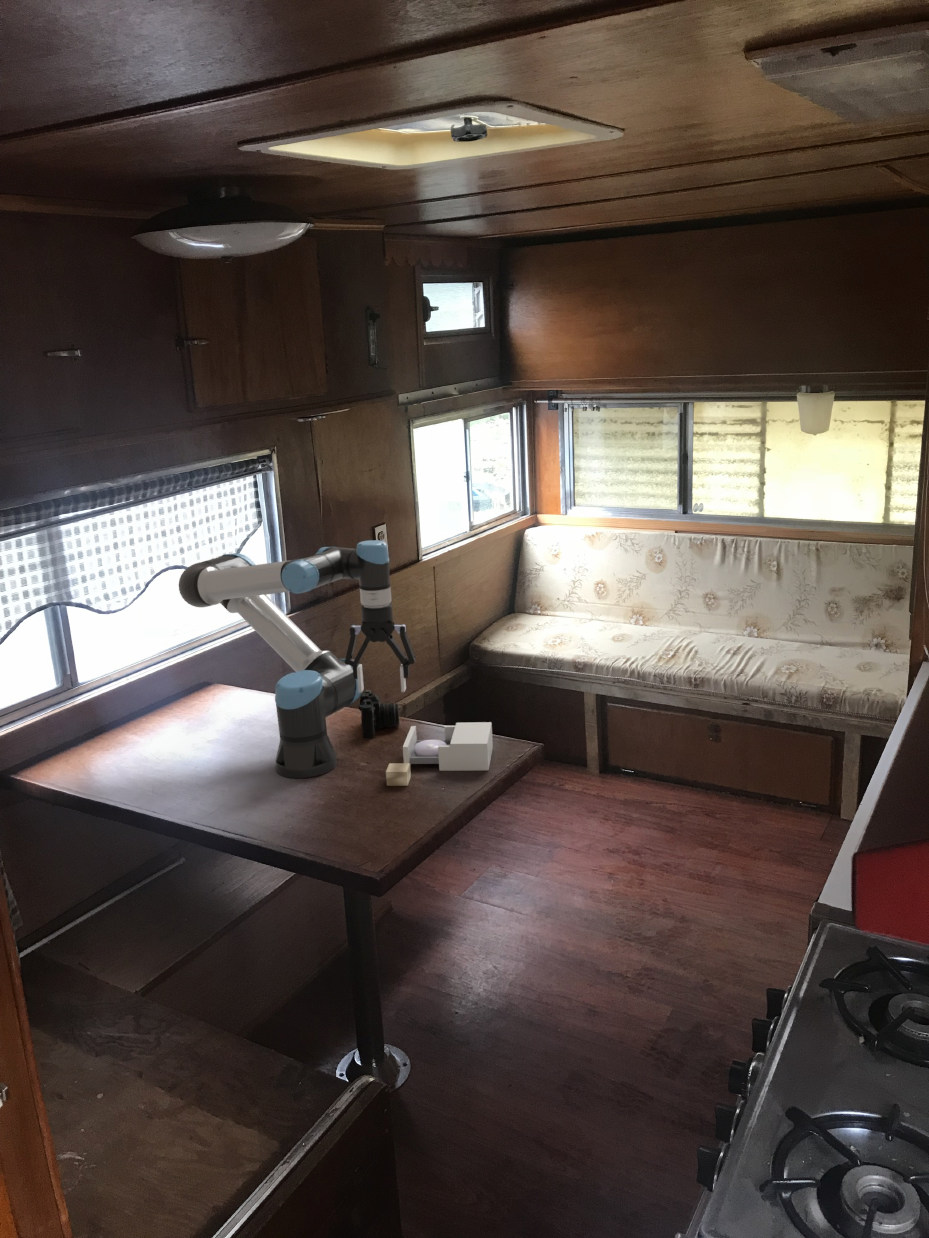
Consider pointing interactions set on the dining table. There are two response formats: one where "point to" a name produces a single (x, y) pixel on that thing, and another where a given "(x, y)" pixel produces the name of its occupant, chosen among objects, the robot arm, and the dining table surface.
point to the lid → (428, 748)
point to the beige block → (398, 774)
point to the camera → (376, 714)
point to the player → (466, 747)
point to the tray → (409, 750)
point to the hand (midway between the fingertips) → (382, 690)
